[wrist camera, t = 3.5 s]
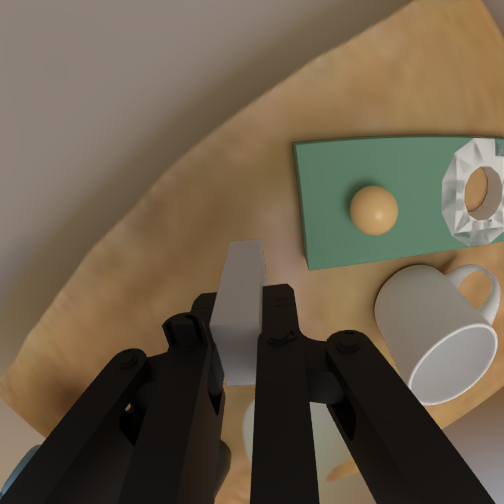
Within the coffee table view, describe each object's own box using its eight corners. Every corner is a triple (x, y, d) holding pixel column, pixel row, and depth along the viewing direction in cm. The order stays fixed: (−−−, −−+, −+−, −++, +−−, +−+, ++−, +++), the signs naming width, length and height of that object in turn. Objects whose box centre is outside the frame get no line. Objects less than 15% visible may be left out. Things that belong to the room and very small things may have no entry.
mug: (477, 274, 28) (532, 329, 18) (398, 345, 32) (432, 416, 22) (444, 220, 26) (512, 270, 16) (355, 303, 30) (388, 381, 20)
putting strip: (305, 257, 28) (308, 270, 26) (292, 142, 24) (295, 145, 22) (499, 230, 26) (513, 239, 24) (503, 137, 22) (519, 140, 20)
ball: (345, 228, 24) (358, 246, 21) (342, 183, 23) (356, 194, 20) (387, 223, 24) (405, 239, 21) (386, 179, 23) (405, 189, 19)
